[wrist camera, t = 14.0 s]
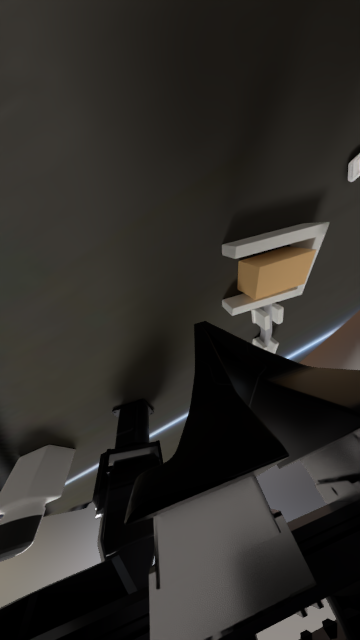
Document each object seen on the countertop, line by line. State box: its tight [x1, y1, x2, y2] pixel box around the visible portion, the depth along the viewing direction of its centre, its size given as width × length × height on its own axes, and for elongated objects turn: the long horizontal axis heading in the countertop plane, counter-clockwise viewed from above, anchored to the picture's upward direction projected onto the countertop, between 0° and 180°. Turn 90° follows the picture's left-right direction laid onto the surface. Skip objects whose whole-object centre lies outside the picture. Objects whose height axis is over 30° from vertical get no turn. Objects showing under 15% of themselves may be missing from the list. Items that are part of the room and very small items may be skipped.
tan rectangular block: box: [238, 246, 317, 300], centre depth 15 cm, size 4×6×4 cm, turn 103°
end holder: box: [222, 222, 330, 316], centre depth 15 cm, size 8×10×2 cm
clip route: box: [251, 303, 283, 354], centre depth 21 cm, size 12×4×2 cm, turn 11°
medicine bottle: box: [0, 445, 75, 562], centre depth 25 cm, size 7×7×12 cm
